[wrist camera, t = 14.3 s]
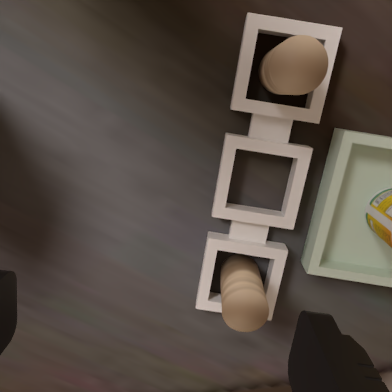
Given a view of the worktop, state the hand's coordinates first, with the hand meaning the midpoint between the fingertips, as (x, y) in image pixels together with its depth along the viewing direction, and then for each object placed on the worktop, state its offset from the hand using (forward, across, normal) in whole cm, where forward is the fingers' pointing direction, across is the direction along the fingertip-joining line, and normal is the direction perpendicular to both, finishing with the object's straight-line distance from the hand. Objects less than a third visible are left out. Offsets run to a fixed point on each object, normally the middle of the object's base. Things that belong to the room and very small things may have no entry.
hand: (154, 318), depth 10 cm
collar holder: (+29, -7, +3) cm, 30 cm away
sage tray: (+29, -21, +4) cm, 36 cm away
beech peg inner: (+30, -8, -8) cm, 32 cm away
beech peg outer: (+29, -7, +14) cm, 33 cm away
